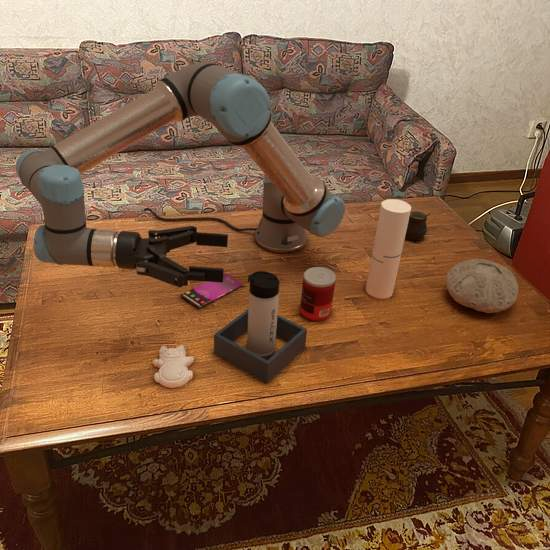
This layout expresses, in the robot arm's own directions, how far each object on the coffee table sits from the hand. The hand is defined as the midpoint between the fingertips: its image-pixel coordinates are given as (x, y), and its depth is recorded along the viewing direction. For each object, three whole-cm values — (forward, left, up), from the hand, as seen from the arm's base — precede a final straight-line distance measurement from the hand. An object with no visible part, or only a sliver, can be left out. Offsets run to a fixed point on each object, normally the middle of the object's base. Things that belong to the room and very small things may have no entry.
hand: (225, 257), depth 111 cm
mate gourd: (+12, +76, -24) cm, 81 cm away
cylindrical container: (+17, +43, -24) cm, 52 cm away
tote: (+7, +4, -24) cm, 25 cm away
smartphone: (-16, +14, -24) cm, 33 cm away
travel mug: (+7, +4, -24) cm, 25 cm away
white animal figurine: (-4, -12, -24) cm, 27 cm away
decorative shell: (+39, +56, -24) cm, 72 cm away
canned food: (+9, +24, -24) cm, 35 cm away
